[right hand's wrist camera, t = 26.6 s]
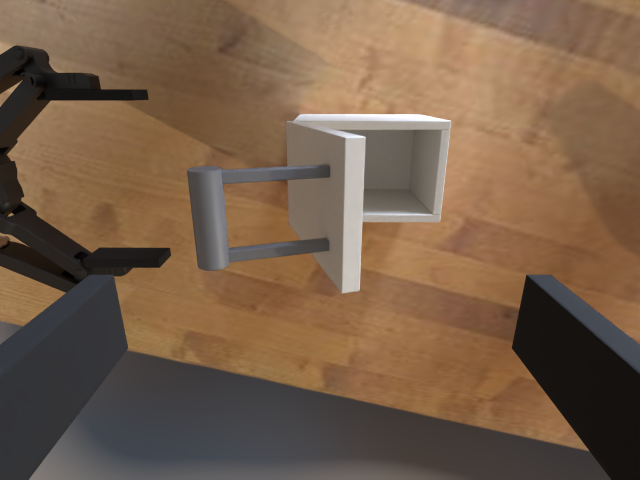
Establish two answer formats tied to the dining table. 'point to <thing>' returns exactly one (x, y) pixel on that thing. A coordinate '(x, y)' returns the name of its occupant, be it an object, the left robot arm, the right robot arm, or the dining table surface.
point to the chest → (397, 163)
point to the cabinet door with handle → (293, 204)
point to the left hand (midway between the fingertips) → (154, 182)
